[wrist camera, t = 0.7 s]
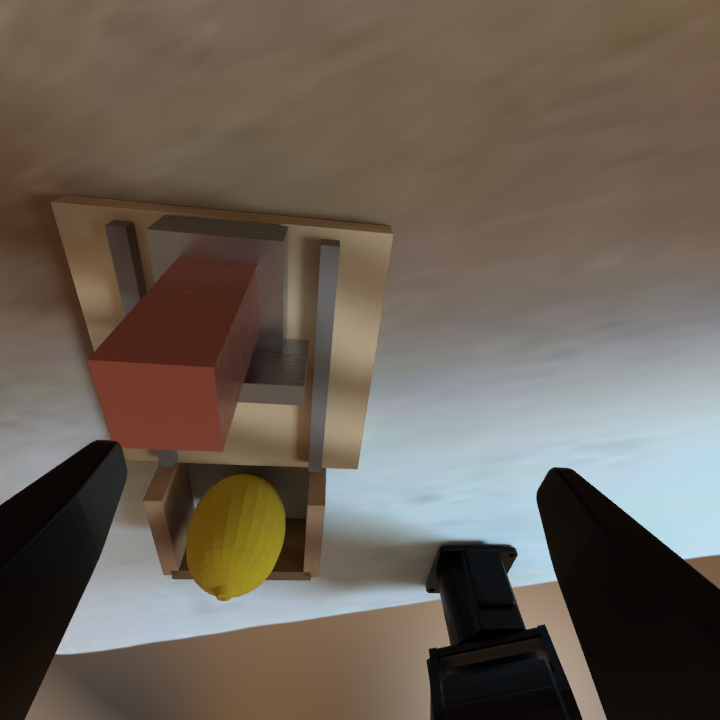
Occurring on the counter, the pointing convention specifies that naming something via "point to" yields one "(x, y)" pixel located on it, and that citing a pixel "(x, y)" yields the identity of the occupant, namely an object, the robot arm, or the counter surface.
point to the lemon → (235, 536)
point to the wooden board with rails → (304, 321)
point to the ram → (201, 337)
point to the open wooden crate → (175, 509)
